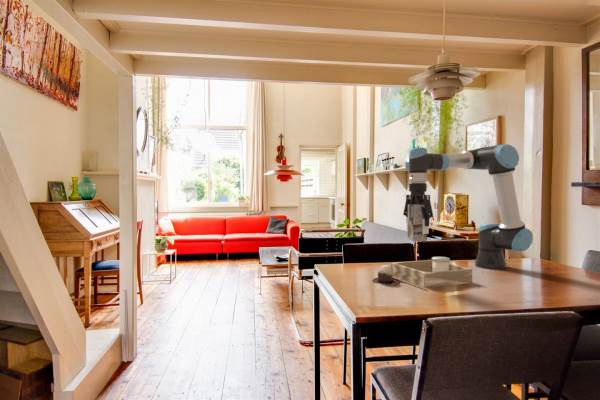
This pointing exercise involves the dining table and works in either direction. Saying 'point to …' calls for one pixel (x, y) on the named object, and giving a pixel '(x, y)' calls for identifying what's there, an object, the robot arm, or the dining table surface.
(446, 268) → the white light bulb
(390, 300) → the dining table surface
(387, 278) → the skull
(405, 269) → the crate
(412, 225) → the coffee box
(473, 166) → the robot arm
